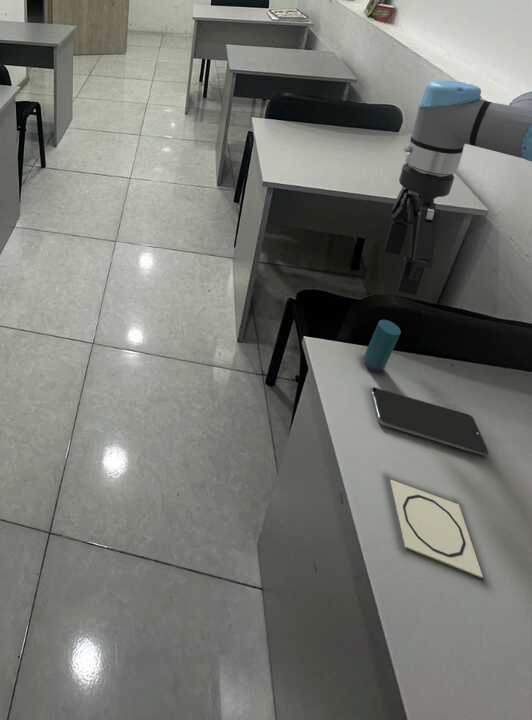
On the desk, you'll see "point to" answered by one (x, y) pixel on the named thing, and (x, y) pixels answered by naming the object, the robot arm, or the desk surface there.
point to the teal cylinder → (381, 345)
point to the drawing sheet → (434, 528)
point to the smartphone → (428, 421)
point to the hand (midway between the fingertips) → (398, 271)
